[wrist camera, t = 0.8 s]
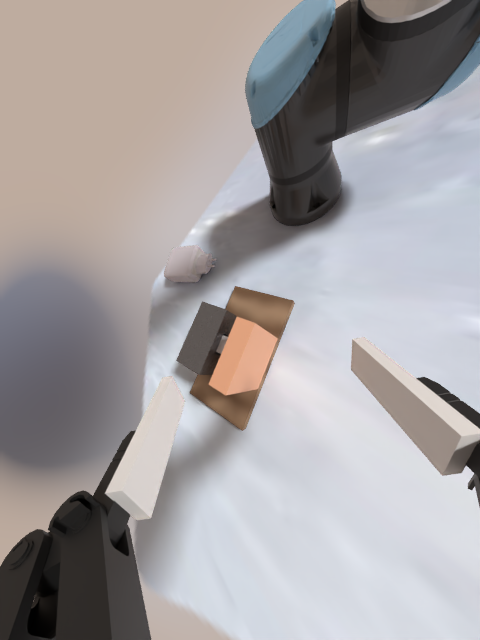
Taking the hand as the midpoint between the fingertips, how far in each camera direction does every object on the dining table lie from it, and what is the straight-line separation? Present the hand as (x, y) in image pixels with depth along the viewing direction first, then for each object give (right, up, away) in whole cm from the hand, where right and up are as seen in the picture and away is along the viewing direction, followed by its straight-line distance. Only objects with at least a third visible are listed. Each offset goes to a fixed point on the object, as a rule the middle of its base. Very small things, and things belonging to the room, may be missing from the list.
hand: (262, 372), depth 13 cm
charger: (-13, +18, +38) cm, 45 cm away
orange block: (0, -3, +23) cm, 23 cm away
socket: (-5, -1, +26) cm, 27 cm away
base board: (-1, -3, +26) cm, 26 cm away
